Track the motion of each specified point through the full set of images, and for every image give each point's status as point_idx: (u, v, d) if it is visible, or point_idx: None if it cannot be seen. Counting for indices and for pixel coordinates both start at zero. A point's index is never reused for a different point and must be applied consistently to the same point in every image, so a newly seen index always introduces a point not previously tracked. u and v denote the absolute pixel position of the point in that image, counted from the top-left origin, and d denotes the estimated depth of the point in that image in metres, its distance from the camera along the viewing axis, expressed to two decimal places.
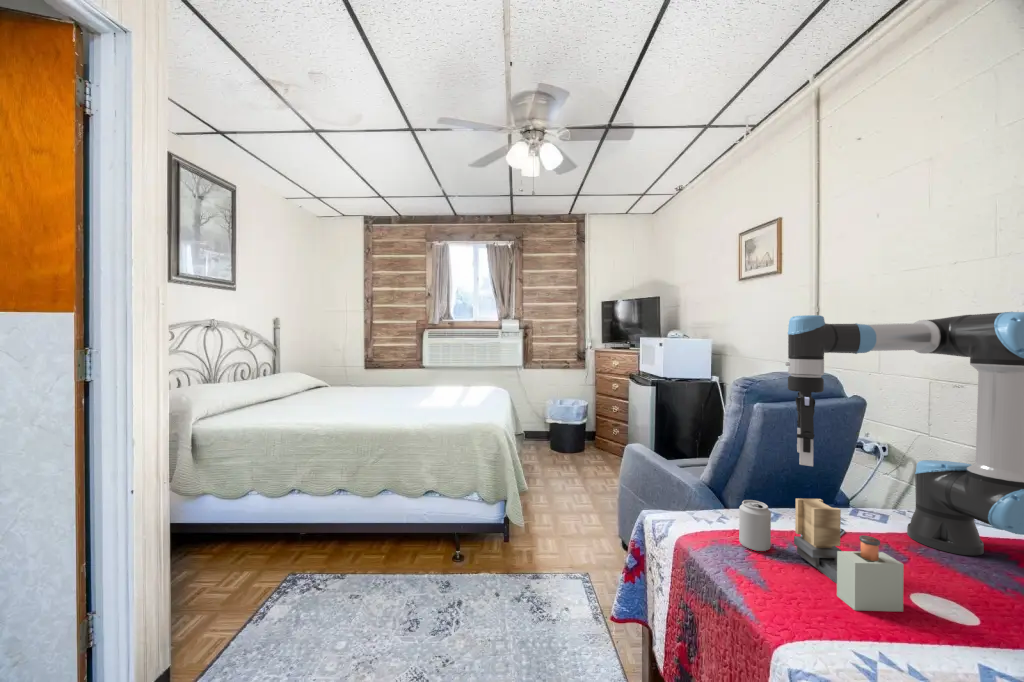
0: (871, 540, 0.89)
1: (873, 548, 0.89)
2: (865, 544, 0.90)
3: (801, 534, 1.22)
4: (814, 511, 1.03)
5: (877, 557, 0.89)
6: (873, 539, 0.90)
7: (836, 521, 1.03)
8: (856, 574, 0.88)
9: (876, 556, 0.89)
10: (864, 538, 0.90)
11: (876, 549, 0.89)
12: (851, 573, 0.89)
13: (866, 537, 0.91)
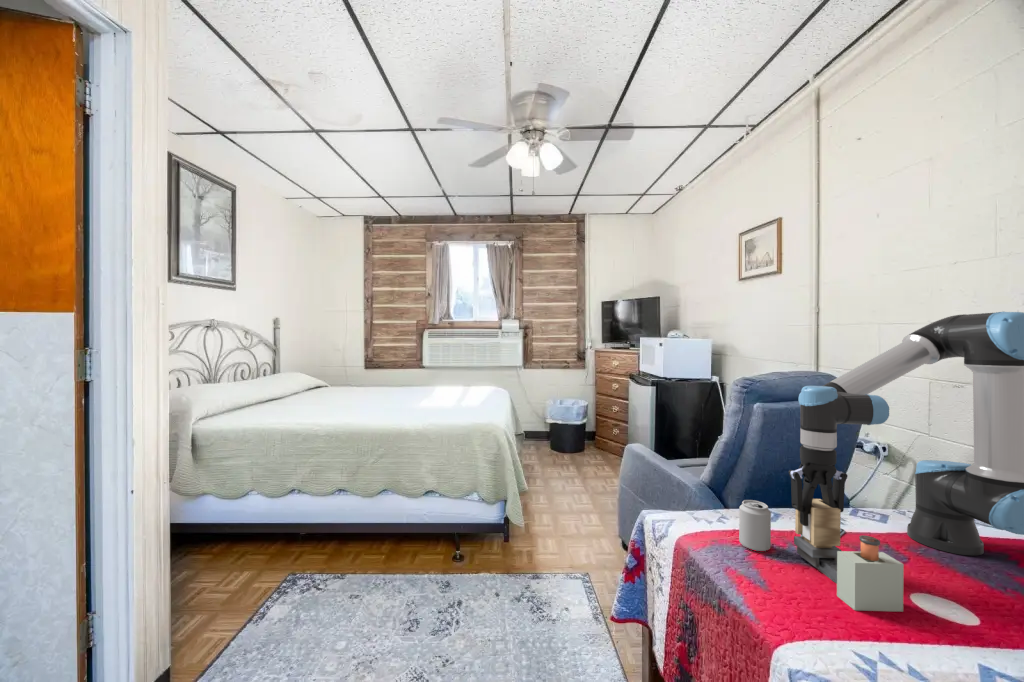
0: (871, 540, 0.89)
1: (873, 548, 0.89)
2: (865, 544, 0.90)
3: (801, 534, 1.22)
4: (814, 511, 1.03)
5: (877, 557, 0.89)
6: (873, 539, 0.90)
7: (836, 521, 1.03)
8: (856, 574, 0.88)
9: (876, 556, 0.89)
10: (864, 538, 0.90)
11: (876, 549, 0.89)
12: (851, 573, 0.89)
13: (866, 537, 0.91)
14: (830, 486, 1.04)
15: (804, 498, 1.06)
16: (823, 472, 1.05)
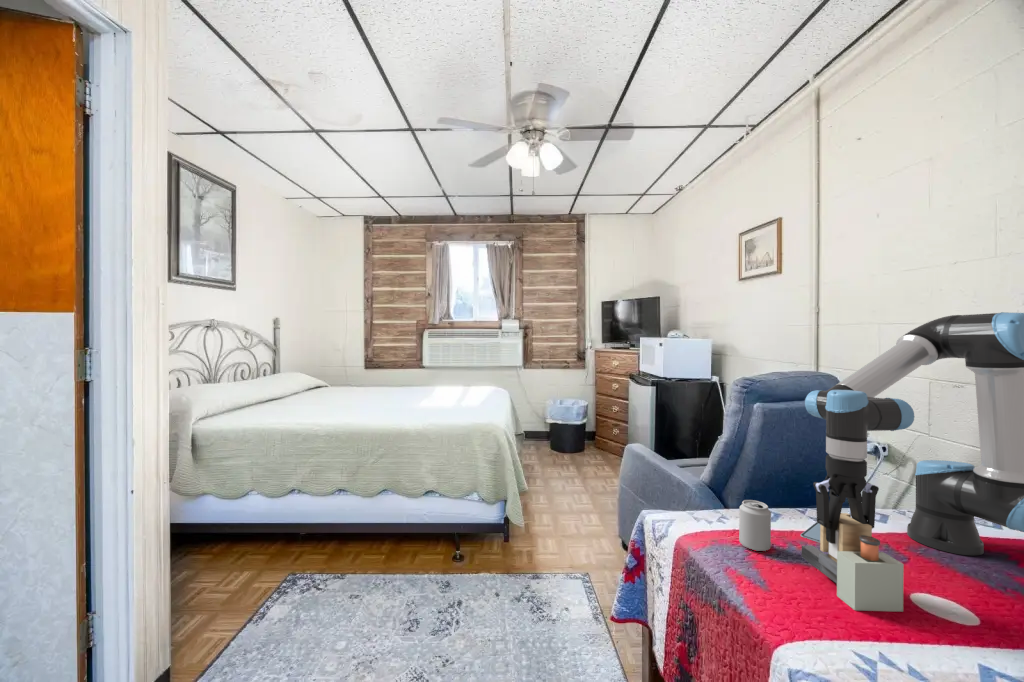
0: (871, 540, 0.89)
1: (873, 548, 0.89)
2: (865, 544, 0.90)
3: (801, 534, 1.22)
4: (843, 528, 0.94)
5: (877, 557, 0.89)
6: (873, 539, 0.90)
7: None
8: (856, 574, 0.88)
9: (876, 556, 0.89)
10: (864, 538, 0.90)
11: (876, 549, 0.89)
12: (851, 573, 0.89)
13: (866, 537, 0.91)
14: (860, 500, 0.95)
15: (831, 513, 0.97)
16: (852, 485, 0.96)
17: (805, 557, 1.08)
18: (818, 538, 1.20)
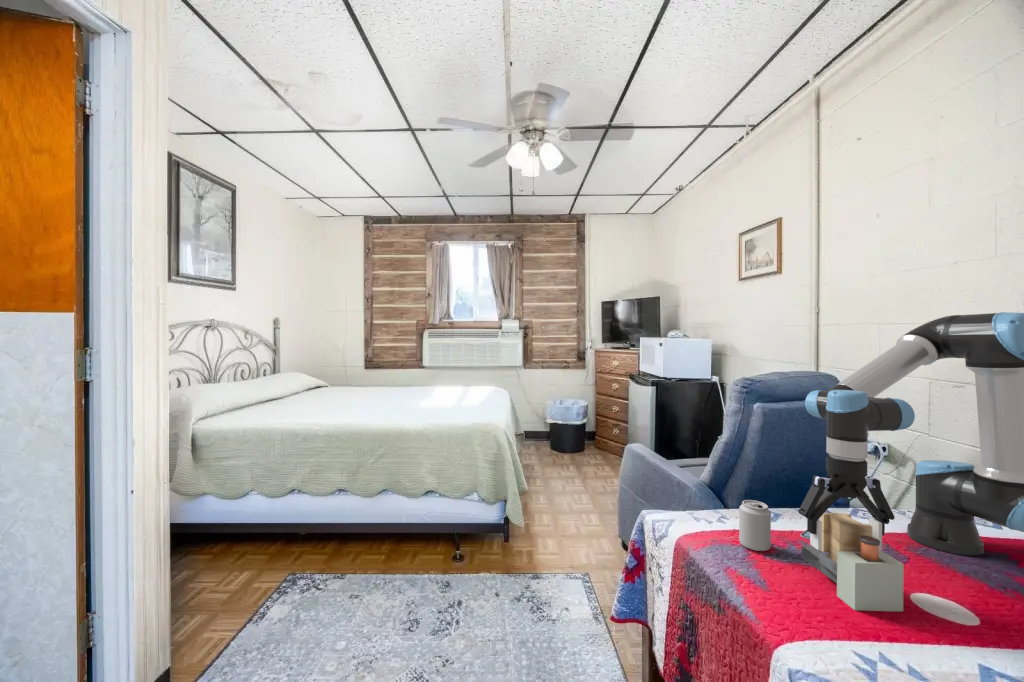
0: (871, 540, 0.89)
1: (873, 548, 0.89)
2: (865, 544, 0.90)
3: (801, 534, 1.22)
4: (843, 528, 0.94)
5: (877, 557, 0.89)
6: (873, 539, 0.90)
7: None
8: (856, 574, 0.88)
9: (876, 556, 0.89)
10: (864, 538, 0.90)
11: (876, 549, 0.89)
12: (851, 573, 0.89)
13: (866, 537, 0.91)
14: (866, 497, 0.95)
15: (818, 505, 0.97)
16: (852, 486, 0.96)
17: (805, 557, 1.08)
18: None
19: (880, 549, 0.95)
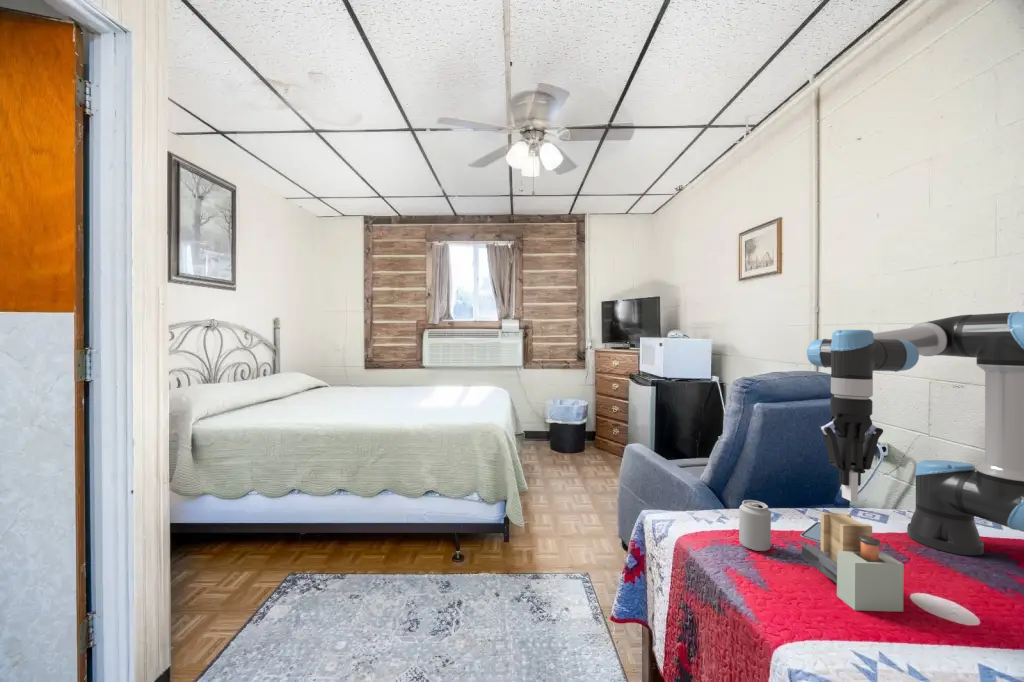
0: (871, 540, 0.89)
1: (873, 548, 0.89)
2: (865, 544, 0.90)
3: (801, 534, 1.22)
4: (843, 528, 0.94)
5: (877, 557, 0.89)
6: (873, 539, 0.90)
7: None
8: (856, 574, 0.88)
9: (876, 556, 0.89)
10: (864, 538, 0.90)
11: (876, 549, 0.89)
12: (851, 573, 0.89)
13: (866, 537, 0.91)
14: (862, 440, 0.94)
15: (842, 455, 0.96)
16: (857, 424, 0.94)
17: (805, 557, 1.08)
18: (818, 538, 1.20)
19: (856, 499, 0.94)
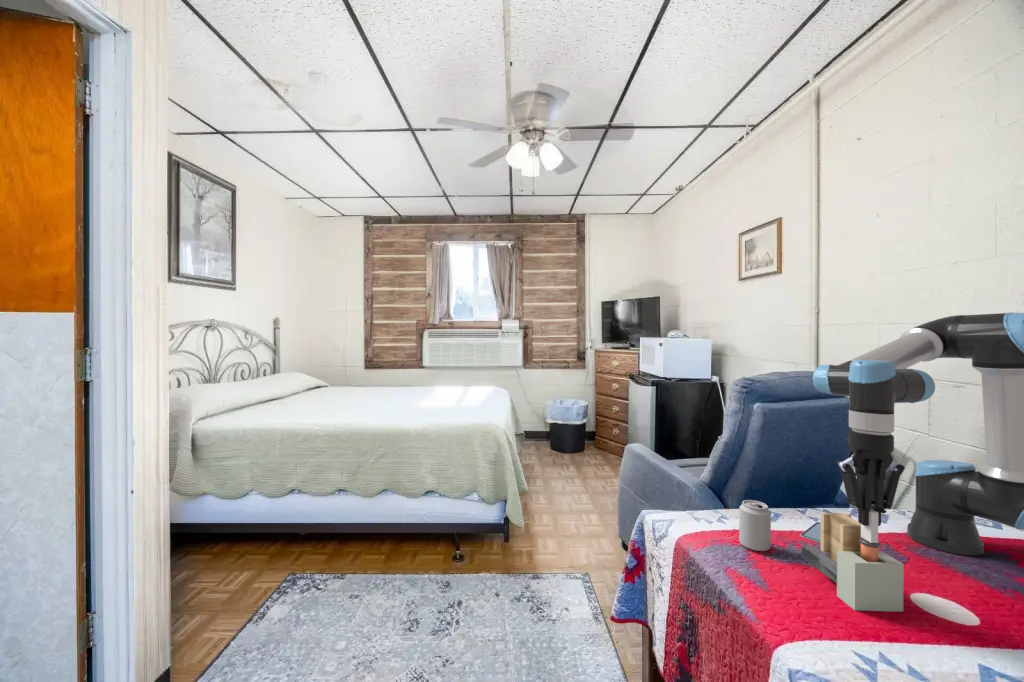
0: (871, 543, 0.89)
1: (873, 550, 0.89)
2: (865, 546, 0.90)
3: (801, 534, 1.22)
4: (843, 528, 0.94)
5: (877, 559, 0.89)
6: None
7: None
8: (856, 574, 0.88)
9: (876, 558, 0.89)
10: (864, 540, 0.90)
11: (876, 551, 0.89)
12: (851, 573, 0.89)
13: None
14: (883, 478, 0.89)
15: (861, 493, 0.90)
16: (878, 460, 0.89)
17: (805, 557, 1.08)
18: (818, 538, 1.20)
19: (876, 540, 0.89)
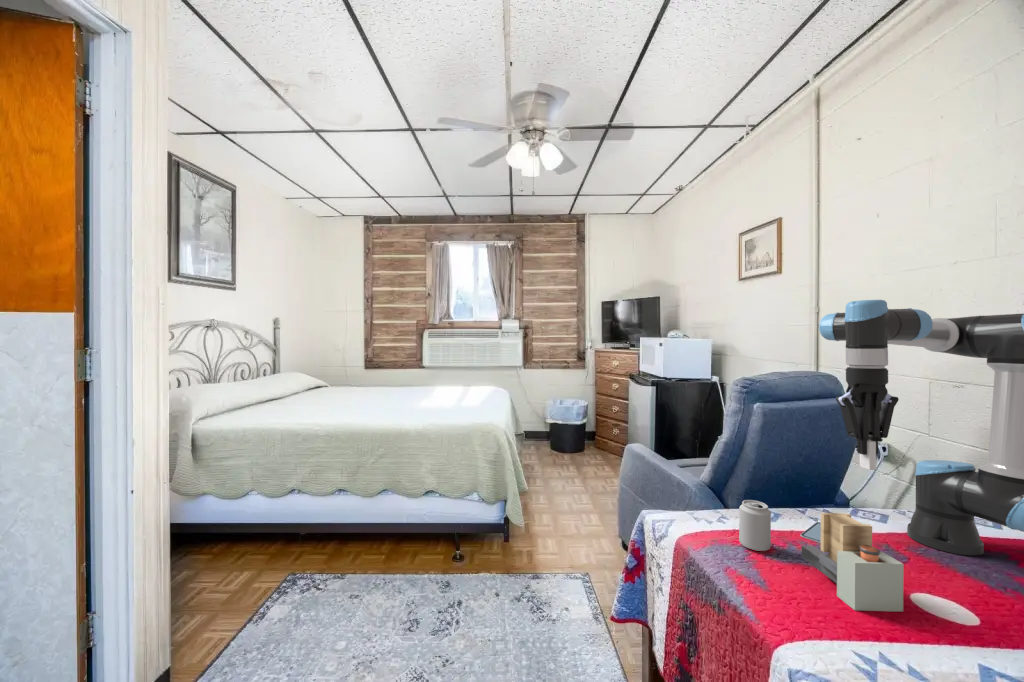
0: (870, 550, 0.89)
1: (873, 557, 0.89)
2: (865, 554, 0.90)
3: (801, 534, 1.22)
4: (843, 528, 0.94)
5: None
6: (873, 548, 0.90)
7: (867, 539, 0.93)
8: (856, 574, 0.88)
9: None
10: (864, 548, 0.90)
11: (875, 559, 0.89)
12: (851, 573, 0.89)
13: (866, 546, 0.91)
14: (879, 409, 0.95)
15: (859, 424, 0.96)
16: (874, 393, 0.95)
17: (805, 557, 1.08)
18: (818, 538, 1.20)
19: (874, 468, 0.95)
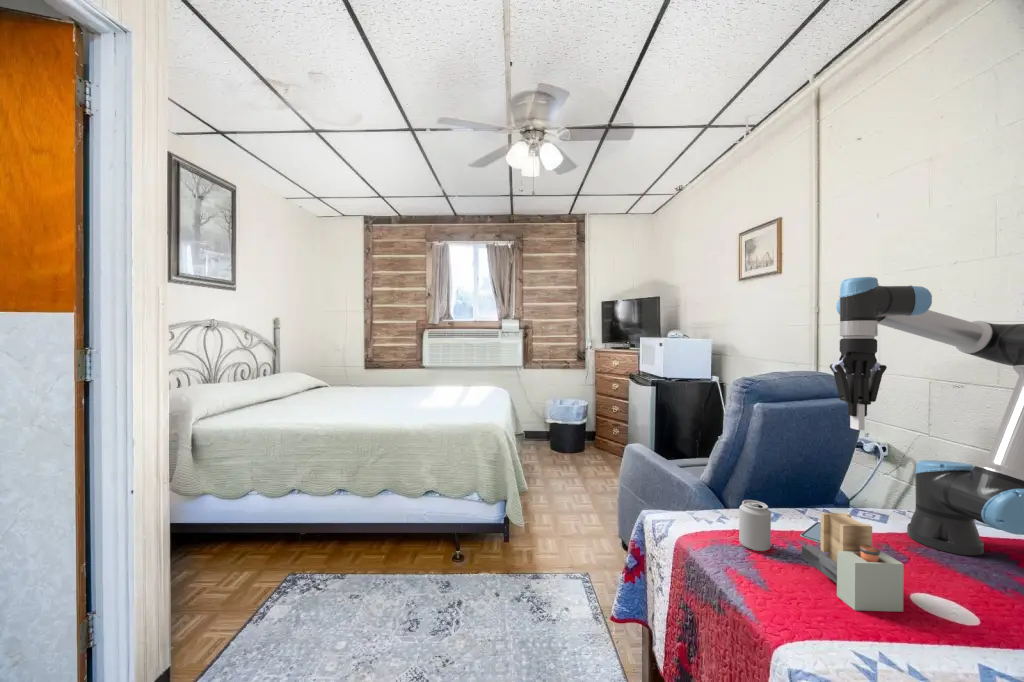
0: (870, 550, 0.89)
1: (873, 557, 0.89)
2: (865, 554, 0.90)
3: (801, 534, 1.22)
4: (843, 528, 0.94)
5: None
6: (873, 548, 0.90)
7: (867, 539, 0.93)
8: (856, 574, 0.88)
9: None
10: (864, 548, 0.90)
11: (875, 559, 0.89)
12: (851, 573, 0.89)
13: (866, 546, 0.91)
14: (868, 375, 1.06)
15: (850, 389, 1.07)
16: (864, 361, 1.06)
17: (805, 557, 1.08)
18: (818, 538, 1.20)
19: (863, 428, 1.06)
